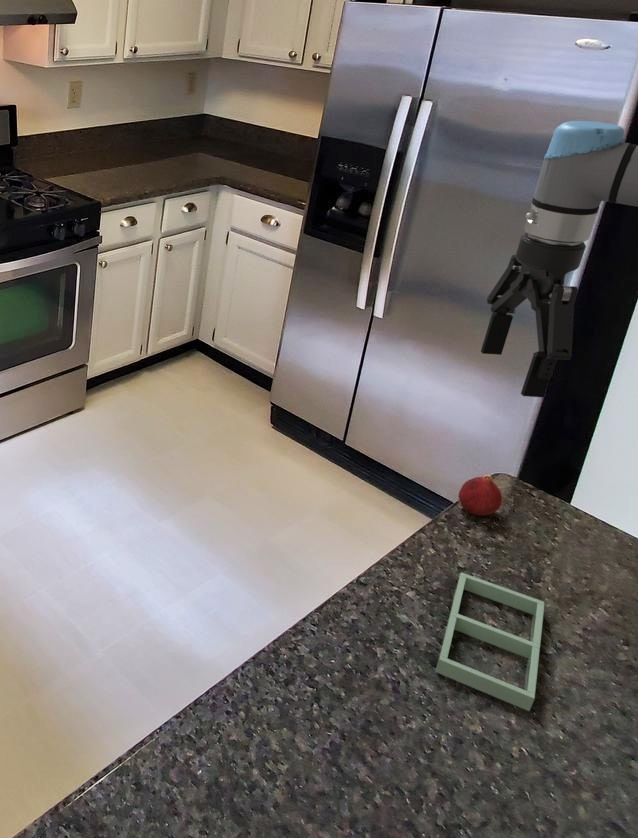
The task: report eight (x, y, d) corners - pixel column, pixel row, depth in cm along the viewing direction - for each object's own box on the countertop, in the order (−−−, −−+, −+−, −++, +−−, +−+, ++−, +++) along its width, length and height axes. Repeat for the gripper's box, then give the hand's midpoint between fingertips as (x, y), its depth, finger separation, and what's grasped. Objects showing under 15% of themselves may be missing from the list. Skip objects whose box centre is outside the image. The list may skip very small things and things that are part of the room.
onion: (459, 523, 128) (472, 482, 125) (449, 502, 133) (461, 462, 130) (500, 529, 127) (514, 487, 123) (488, 507, 132) (501, 467, 129)
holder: (455, 588, 115) (460, 571, 114) (538, 618, 110) (544, 601, 108) (433, 677, 101) (439, 659, 99) (527, 716, 95) (534, 698, 94)
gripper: (486, 210, 121) (451, 336, 130) (571, 267, 99) (522, 414, 108) (539, 212, 120) (500, 339, 129) (638, 270, 98) (582, 418, 107)
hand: (510, 373), depth 119 cm, fingers open, 13 cm apart
